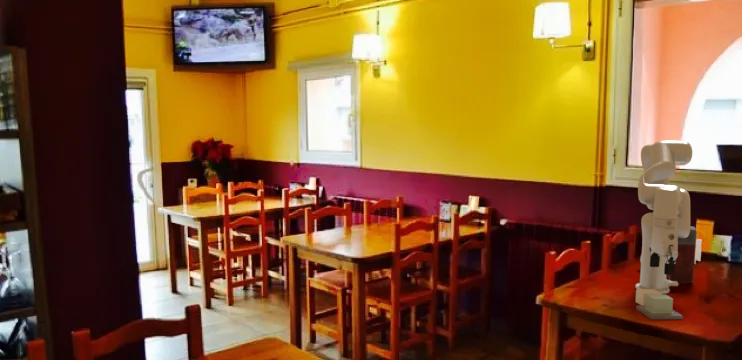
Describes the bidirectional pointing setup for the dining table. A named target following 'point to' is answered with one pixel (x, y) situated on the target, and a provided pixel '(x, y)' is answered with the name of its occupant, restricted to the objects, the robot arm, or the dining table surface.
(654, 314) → the baseplate
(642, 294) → the cream brick
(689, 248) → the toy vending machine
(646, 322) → the dining table surface
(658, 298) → the sage brick
